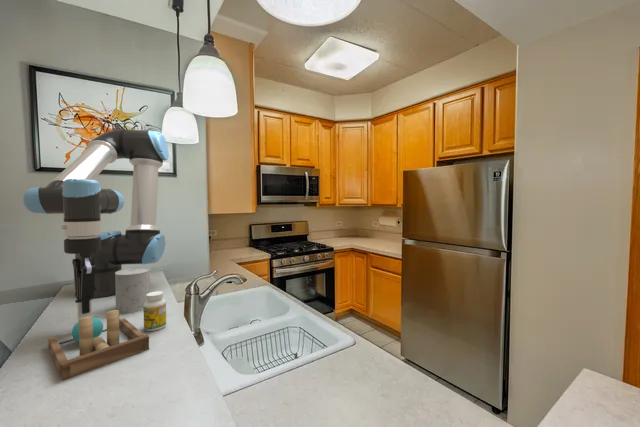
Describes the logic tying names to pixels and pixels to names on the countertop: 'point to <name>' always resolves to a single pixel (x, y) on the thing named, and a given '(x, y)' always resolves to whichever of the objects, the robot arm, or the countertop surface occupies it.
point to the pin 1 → (85, 335)
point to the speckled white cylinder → (131, 289)
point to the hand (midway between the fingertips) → (84, 323)
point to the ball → (96, 329)
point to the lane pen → (99, 352)
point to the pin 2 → (112, 327)
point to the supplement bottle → (154, 311)
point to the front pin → (99, 343)
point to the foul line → (73, 339)
